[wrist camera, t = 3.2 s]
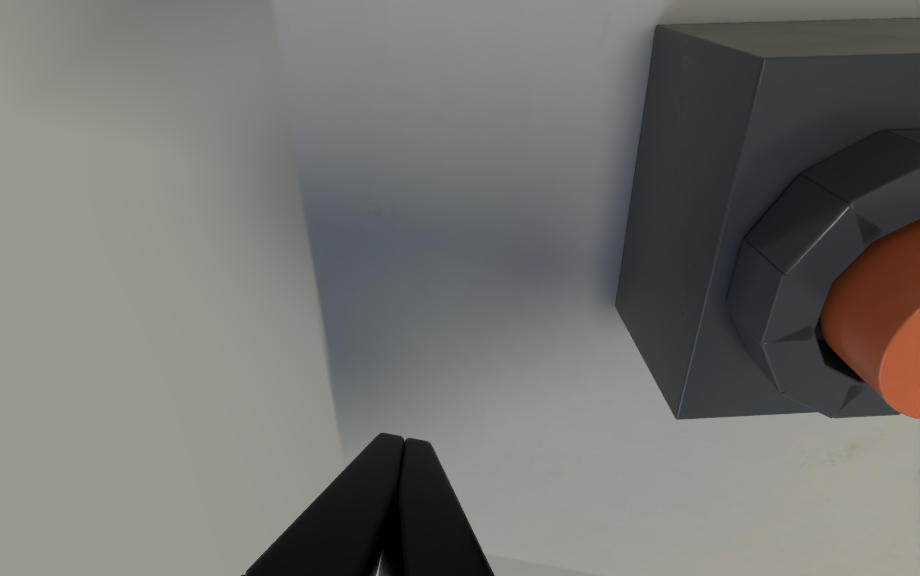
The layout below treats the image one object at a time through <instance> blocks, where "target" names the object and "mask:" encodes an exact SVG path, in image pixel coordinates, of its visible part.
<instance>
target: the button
mask: <svg viewBox="0 0 920 576" xmlns="http://www.w3.org/2000/svg"><path fill="white" fill-rule="evenodd" d="M820 326H821V331H822V335H823V337H824V339H825V341H826V343H827V344H828V346H829V347H830V348H831V349H832V350H833V351H834V352H835V353H836V354H837V355H838V356H839V357H840V358H841V359H842V360H843V361H844V362H845V363H846V364H847V365H848V366H849V367H850V368H851V369H852V370H853V371H854V372H855V373H856V374H857V375H859V376H860V377H861V378H862V379H863V380H864V381H865V382H866V383H867V384H868V385H869V386H870V387H871V388H872V389H873V390H874V391H875V392H876V393H877V394H878V395H879V396H880V397H881V398H882V399H883V400H884V401H885V402H886V403H887V404H888V405H889V406H890V407H892V408H893V409H894V410H896V411H898V412H899V413H902V414H904V415H906V416H909V417H913V418H917V419H920V219H919V220H917V221H915V222H913V223H911V224H909V225H907V226H905V227H903V228H900V229H898V230H896V231H894V232H892V233H890V234H888V235H886V236H884V237H882V238H879V239H877V240H875V241H874V242H873V243H872V244H871V245H870V246H869V247H868V248H867V249H866V250H865V251H864V252H863V253H862V254H861V255H860V256H859V257H858V258H857V259H856V260H855V261H854V262H853V263H852V264H851V265H850V266H849V267H848V268H847V269H846V270H845V271H844V272H843V273H842V274H841V275H840V276H839V277H838V278H837V279H836V280H835V281H834V282H833V283H832V285H831V288H830V290H829V293H828V296H827V298H826V301H825V304H824V307H823V309H822V312H821V315H820Z"/></svg>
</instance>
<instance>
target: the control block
mask: <svg viewBox="0 0 920 576" xmlns="http://www.w3.org/2000/svg"><path fill="white" fill-rule="evenodd" d="M919 219H920V18H897V19H860V20H822V21H784V22H746V23H708V24H670V25H657V27H656V32H655V39H654V46H653V53H652V60H651V66H650V73H649V80H648V87H647V94H646V101H645V107H644V114H643V121H642V128H641V135H640V141H639V148H638V155H637V162H636V169H635V176H634V182H633V189H632V196H631V203H630V210H629V217H628V223H627V230H626V237H625V244H624V251H623V257H622V264H621V271H620V278H619V285H618V292H617V298H616V305H615V307H616V309H617V311H618V313H619V314H620V316H621V318H622V320H623V322H624V324H625V326H626V327H627V329H628V331H629V333H630V335H631V337H632V339H633V340H634V342H635V344H636V346H637V348H638V350H639V352H640V353H641V355H642V357H643V359H644V361H645V363H646V365H647V366H648V368H649V370H650V372H651V374H652V376H653V378H654V379H655V381H656V383H657V385H658V387H659V389H660V391H661V392H662V394H663V396H664V398H665V400H666V402H667V404H668V405H669V407H670V409H671V411H672V413H673V415H674V417H675V418H676V419H677V420H678V419H697V418H716V417H735V416H754V415H773V414H792V413H811V412H819V413H821V414H823V415H825V416H827V417H830V418H848V417H867V416H886V415H900V414H901V413H899V412H898V411H896V410H894V409H893V408H892V407H890V406H889V405H888V404H887V403H886V402H885V401H884V400H883V399H882V398H881V397H880V396H879V395H878V394H877V393H876V392H875V391H874V390H873V389H872V388H871V387H870V386H869V385H868V384H867V383H866V382H865V381H864V380H863V379H862V378H861V377H860V376H859V375H857V374H856V373H855V372H854V371H853V370H852V369H851V368H850V367H849V366H848V365H847V364H846V363H845V362H844V361H843V360H842V359H841V358H840V357H839V356H838V355H837V354H836V353H835V352H834V351H833V350H832V349H831V348H830V347H829V346H828V344H827V343H826V341H825V339H824V337H823V335H822V331H821V326H820V315H821V312H822V309H823V307H824V304H825V301H826V298H827V296H828V293H829V290H830V288H831V285H832V283H833V282H834V281H835V280H836V279H837V278H838V277H839V276H840V275H841V274H842V273H843V272H844V271H845V270H846V269H847V268H848V267H849V266H850V265H851V264H852V263H853V262H854V261H855V260H856V259H857V258H858V257H859V256H860V255H861V254H862V253H863V252H864V251H865V250H866V249H867V248H868V247H869V246H870V245H871V244H872V243H873V242H874V241H875V240H877V239H879V238H882V237H884V236H886V235H888V234H890V233H892V232H894V231H896V230H898V229H900V228H903V227H905V226H907V225H909V224H911V223H913V222H915V221H917V220H919Z"/></svg>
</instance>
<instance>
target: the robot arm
mask: <svg viewBox="0 0 920 576" xmlns="http://www.w3.org/2000/svg"><path fill="white" fill-rule="evenodd" d="M380 558H381V560H380ZM379 562H380V567H379V576H494V574H493V572H492V569H491V568H490V565H489V563H488V562H487V559H486V557H485V555H484V553H483V551H482V549H481V547H480V545H479V542H478V540H477V538H476V536H475V534H474V532H473V530H472V528H471V526H470V524H469V522H468V520H467V517H466V515H465V513H464V511H463V509H462V507H461V505H460V503H459V501H458V499H457V497H456V495H455V493H454V490H453V488H452V486H451V484H450V482H449V480H448V478H447V476H446V474H445V472H444V470H443V468H442V466H441V463H440V461H439V459H438V457H437V455H436V453H435V451H434V449H433V447H432V445H431V443H430V442H428V441H423V440H418V439H413V438H407V439H406V440H405V442H404V438H403V437H402V436H398V435H392V434H387V433H380V434H379V435H378V436H376V437H375V439H374V440H373V441H372V442H371V443H370V444H369V445H368V446H367V447H366V448H365V449H364V450H363V451H362V452H361V453H360V454H359V455H358V456H357V457H356V458H355V459H354V460H353V461H352V462H351V463H350V464H349V465H348V466H347V467H346V469H345V470H344V471H343V472H342V473H341V474H340V475H339V476H338V477H337V478H336V479H335V480H334V481H333V482H332V483H331V484H330V485H329V486H328V487H327V488H326V489H325V490H324V491H323V492H322V493H321V494H320V495H319V496H318V498H316V500H315V501H314V502H313V503H312V504H311V505H310V506H309V507H308V508H307V509H306V510H305V511H304V512H303V513H302V514H301V515H300V516H299V517H298V518H297V519H296V520H295V521H294V522H293V523H292V524H291V525H290V526H289V527H288V529H287V530H286V531H285V532H284V533H283V534H282V535H281V536H280V537H279V538H278V539H277V540H276V541H275V542H274V543H273V544H272V545H271V546H270V547H269V548H268V550H266V551H265V552H264V553H263V554H262V555H261V556H260V557H259V558H258V559H257V560H256V562H255V563H254V564H253V565H252V566H251V567H250V568H249V569H248V570H247V571H246V574H245V575H241V576H376V574H377V570H378V566H379Z"/></svg>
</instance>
